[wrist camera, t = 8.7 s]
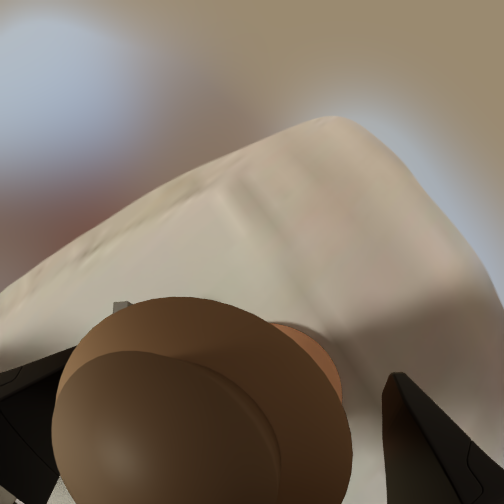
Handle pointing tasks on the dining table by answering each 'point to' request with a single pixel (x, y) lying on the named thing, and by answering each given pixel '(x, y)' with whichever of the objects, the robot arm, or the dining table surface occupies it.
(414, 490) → the robot arm
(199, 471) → the walnut mill
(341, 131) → the dining table surface
